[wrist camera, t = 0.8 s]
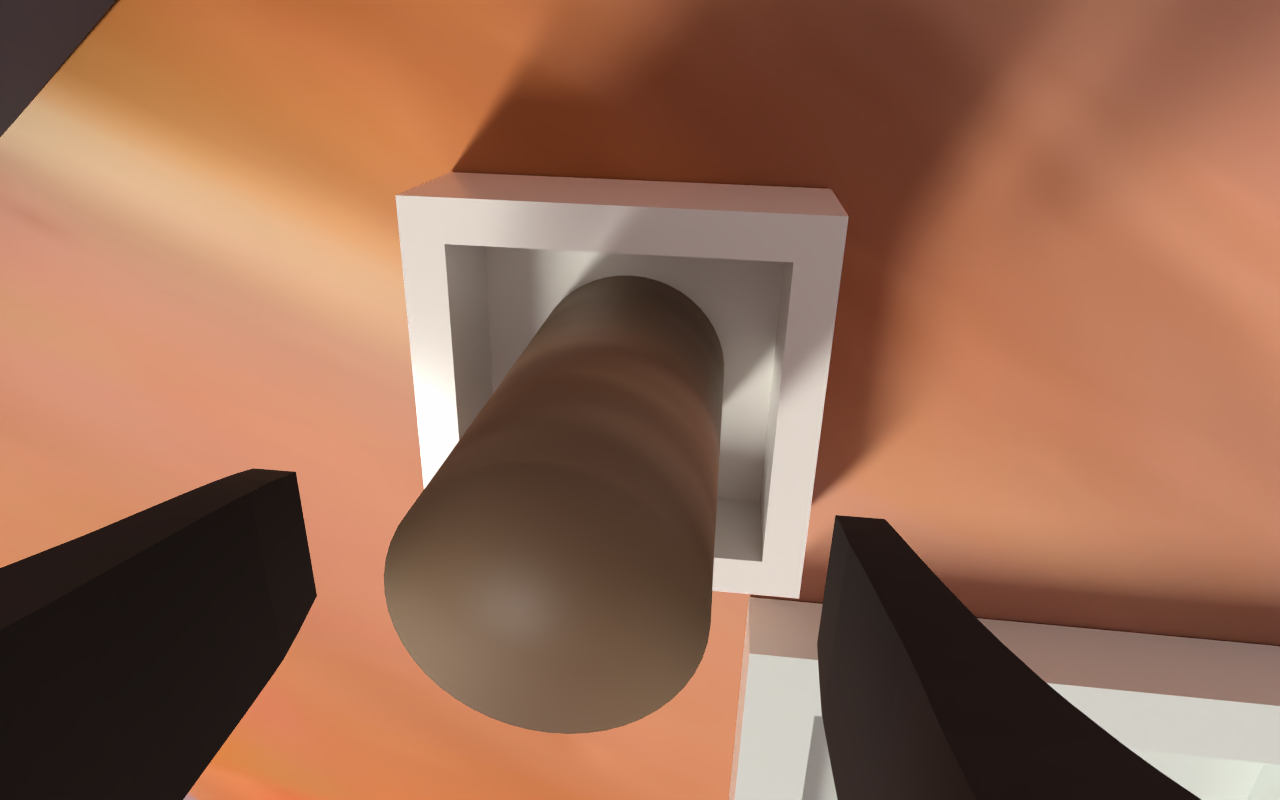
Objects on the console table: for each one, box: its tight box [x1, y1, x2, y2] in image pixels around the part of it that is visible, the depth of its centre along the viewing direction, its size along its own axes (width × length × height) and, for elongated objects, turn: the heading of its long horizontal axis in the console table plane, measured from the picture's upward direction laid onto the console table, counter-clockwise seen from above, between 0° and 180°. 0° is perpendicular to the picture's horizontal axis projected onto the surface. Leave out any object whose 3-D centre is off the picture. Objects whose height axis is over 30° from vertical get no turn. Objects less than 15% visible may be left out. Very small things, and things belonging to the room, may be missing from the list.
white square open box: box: [396, 172, 849, 599], centre depth 16 cm, size 8×8×3 cm
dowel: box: [384, 276, 724, 734], centre depth 13 cm, size 4×4×8 cm
